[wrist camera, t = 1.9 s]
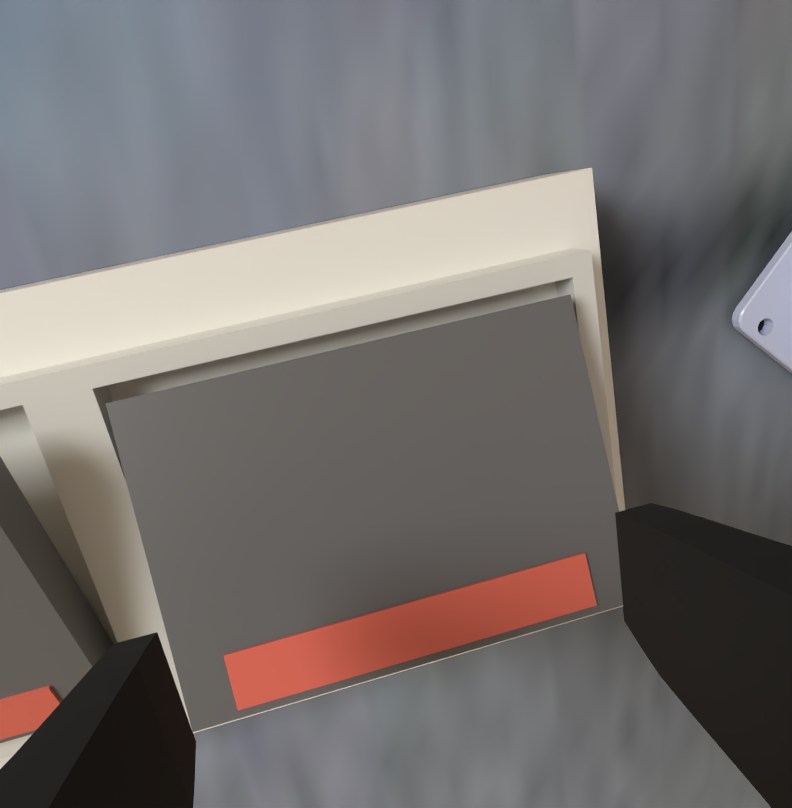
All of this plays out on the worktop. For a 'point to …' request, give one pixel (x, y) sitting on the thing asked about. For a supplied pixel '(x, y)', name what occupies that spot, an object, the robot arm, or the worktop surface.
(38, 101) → the worktop surface
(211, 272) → the rocker switch panel
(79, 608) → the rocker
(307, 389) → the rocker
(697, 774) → the worktop surface
